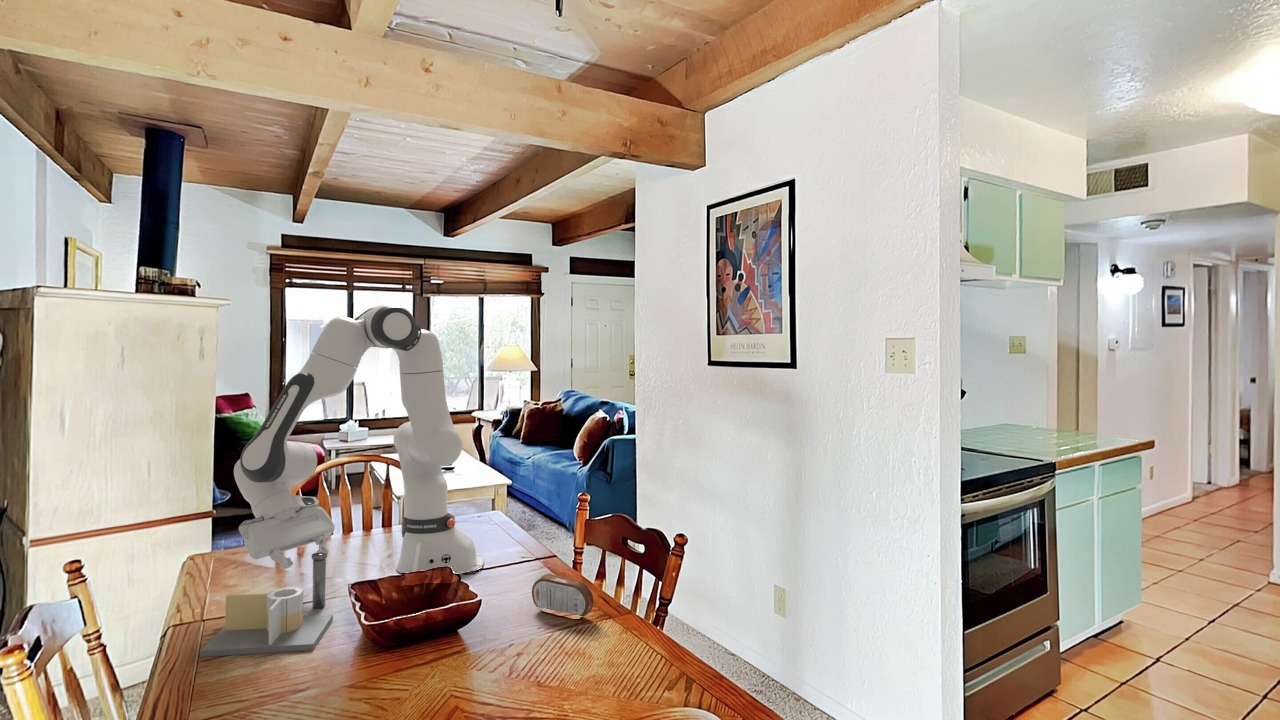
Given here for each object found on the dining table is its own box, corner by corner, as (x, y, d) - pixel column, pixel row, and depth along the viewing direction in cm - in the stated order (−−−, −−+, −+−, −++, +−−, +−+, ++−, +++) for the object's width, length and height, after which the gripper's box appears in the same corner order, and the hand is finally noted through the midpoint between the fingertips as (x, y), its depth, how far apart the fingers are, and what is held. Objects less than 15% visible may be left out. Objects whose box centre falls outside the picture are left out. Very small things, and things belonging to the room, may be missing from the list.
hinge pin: (328, 603, 150) (329, 551, 149) (324, 609, 147) (325, 556, 146) (313, 604, 149) (314, 552, 149) (309, 609, 146) (309, 556, 146)
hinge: (332, 620, 141) (333, 582, 141) (313, 650, 127) (313, 608, 127) (231, 625, 137) (231, 586, 137) (199, 657, 123) (200, 614, 123)
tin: (593, 619, 145) (594, 581, 144) (586, 624, 142) (587, 586, 142) (537, 606, 151) (537, 570, 151) (529, 611, 148) (530, 574, 148)
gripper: (242, 514, 142) (271, 566, 139) (322, 496, 161) (350, 541, 157) (228, 532, 144) (257, 583, 141) (309, 511, 163) (336, 556, 159)
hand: (307, 560), depth 149 cm, fingers open, 8 cm apart
